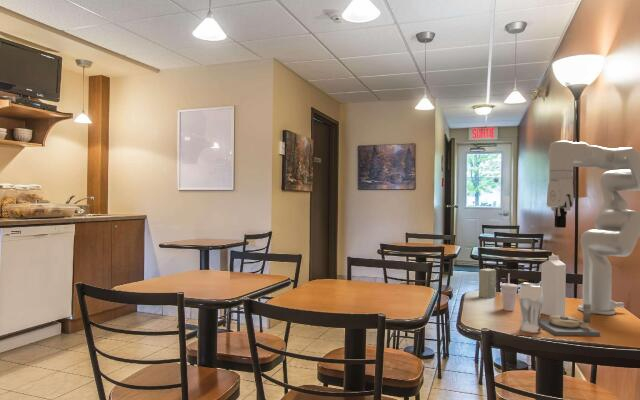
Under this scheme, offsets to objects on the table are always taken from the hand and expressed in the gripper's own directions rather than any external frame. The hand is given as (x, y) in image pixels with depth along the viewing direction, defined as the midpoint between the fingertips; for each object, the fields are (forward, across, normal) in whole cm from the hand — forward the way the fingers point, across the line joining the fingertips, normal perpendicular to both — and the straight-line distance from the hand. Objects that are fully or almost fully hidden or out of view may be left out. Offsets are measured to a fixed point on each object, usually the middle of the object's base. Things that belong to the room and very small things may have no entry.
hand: (560, 227), depth 160 cm
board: (+33, +11, -4) cm, 35 cm away
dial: (+32, +11, -3) cm, 34 cm away
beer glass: (+33, +14, -17) cm, 40 cm away
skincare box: (+33, -37, -12) cm, 51 cm away
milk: (+33, -8, +2) cm, 34 cm away
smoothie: (+33, -14, -12) cm, 38 cm away
